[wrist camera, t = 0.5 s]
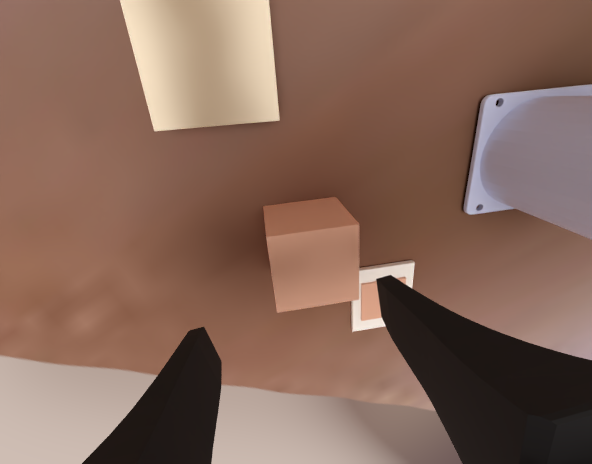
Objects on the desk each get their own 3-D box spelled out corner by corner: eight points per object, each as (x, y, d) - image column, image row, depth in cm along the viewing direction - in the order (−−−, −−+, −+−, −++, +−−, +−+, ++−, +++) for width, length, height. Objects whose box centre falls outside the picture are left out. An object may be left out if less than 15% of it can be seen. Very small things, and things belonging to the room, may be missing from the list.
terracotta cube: (335, 196, 20) (359, 224, 15) (337, 259, 22) (359, 299, 18) (263, 205, 20) (266, 237, 15) (272, 268, 22) (277, 312, 17)
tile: (412, 259, 23) (415, 263, 22) (406, 319, 25) (410, 323, 25) (350, 269, 22) (352, 273, 22) (351, 328, 25) (353, 333, 24)
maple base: (262, -8, 15) (265, -37, 12) (274, 116, 18) (279, 120, 14) (142, -2, 14) (111, -31, 11) (172, 125, 17) (154, 131, 14)
